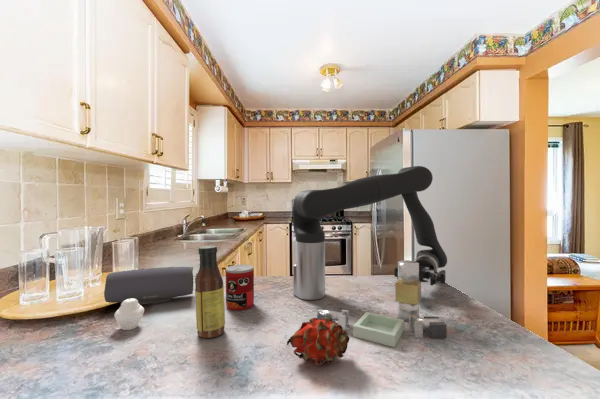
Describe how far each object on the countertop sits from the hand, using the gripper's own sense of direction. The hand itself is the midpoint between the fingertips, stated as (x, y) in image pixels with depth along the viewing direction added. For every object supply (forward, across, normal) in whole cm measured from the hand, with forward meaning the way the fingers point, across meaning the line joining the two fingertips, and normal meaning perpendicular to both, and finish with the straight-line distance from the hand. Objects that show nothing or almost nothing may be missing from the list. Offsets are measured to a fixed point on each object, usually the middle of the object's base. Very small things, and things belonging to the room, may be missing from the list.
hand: (415, 279), depth 82 cm
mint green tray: (+22, -4, +8) cm, 23 cm away
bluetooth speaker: (+37, -68, +8) cm, 78 cm away
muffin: (+50, -56, +8) cm, 75 cm away
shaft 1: (+24, -15, +8) cm, 29 cm away
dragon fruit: (+38, -11, +8) cm, 41 cm away
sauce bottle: (+42, -37, +8) cm, 56 cm away
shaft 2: (+16, +5, +7) cm, 19 cm away
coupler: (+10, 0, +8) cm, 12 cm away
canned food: (+26, -43, +8) cm, 51 cm away
